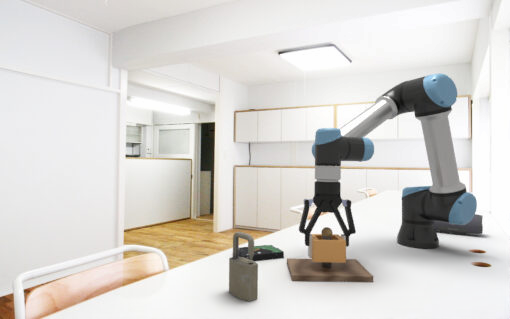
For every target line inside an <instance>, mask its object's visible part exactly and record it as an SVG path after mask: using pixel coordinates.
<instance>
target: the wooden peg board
mask: <svg viewBox="0 0 510 319" xmlns="http://www.w3.org/2000/svg"><path fill="white" fill-rule="evenodd" d="M320 232H321V233H320V234H322V240H332V234H333V230H332V228H330V227H327V226H326V227H323V228H322V230H321V231H320ZM286 265H287V268H288V271H289V274H290V275H289V276H290V277H291V278H290V279H291V281H292V282H338V281H339V283H340V281H341V282H343V281H344V282H345V283H346V281H347V283H349V282H351V283H355V282H358V283H374V275H373V274H372V273H370V272H369V271H368V270H367V268H366V267H365V266H364V265H363V264H361V262H359V261H358V260H357V259H356V258H355V259H353V258H351V259H350V258H346V263H338V262H314V261H313V260H312V258H292V257H291V258H286Z"/></svg>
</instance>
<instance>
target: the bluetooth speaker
mask: <svg viewBox="0 0 510 319" xmlns="http://www.w3.org/2000/svg"><path fill="white" fill-rule="evenodd" d="M483 227H484V226H483V215H481V214H476V213H475V215H474V217H473V218H472V220H471V221H470V222H469V223H467V224H465V225H457V224H454V225H453V224H450V223H444V222H439V221H434V228H435V230H436V231H439V233H442V232H444V233H443V234H450V233H452V235H461V236H466V235H467V234H471V235H473V234H476V235H483V229H484V228H483Z"/></svg>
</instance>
